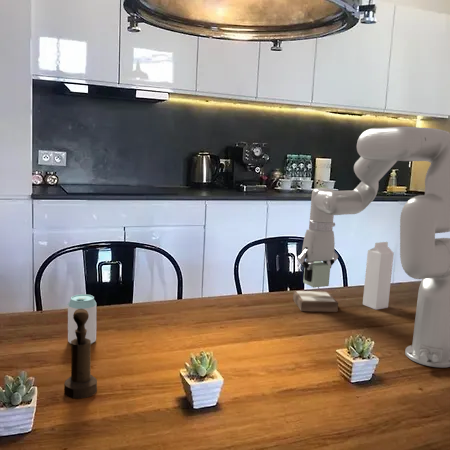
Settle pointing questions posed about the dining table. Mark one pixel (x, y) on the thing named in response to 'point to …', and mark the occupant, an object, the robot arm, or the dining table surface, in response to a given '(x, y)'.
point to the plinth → (315, 301)
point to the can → (90, 305)
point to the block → (319, 275)
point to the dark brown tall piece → (80, 362)
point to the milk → (378, 276)
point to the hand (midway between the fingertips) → (316, 279)
